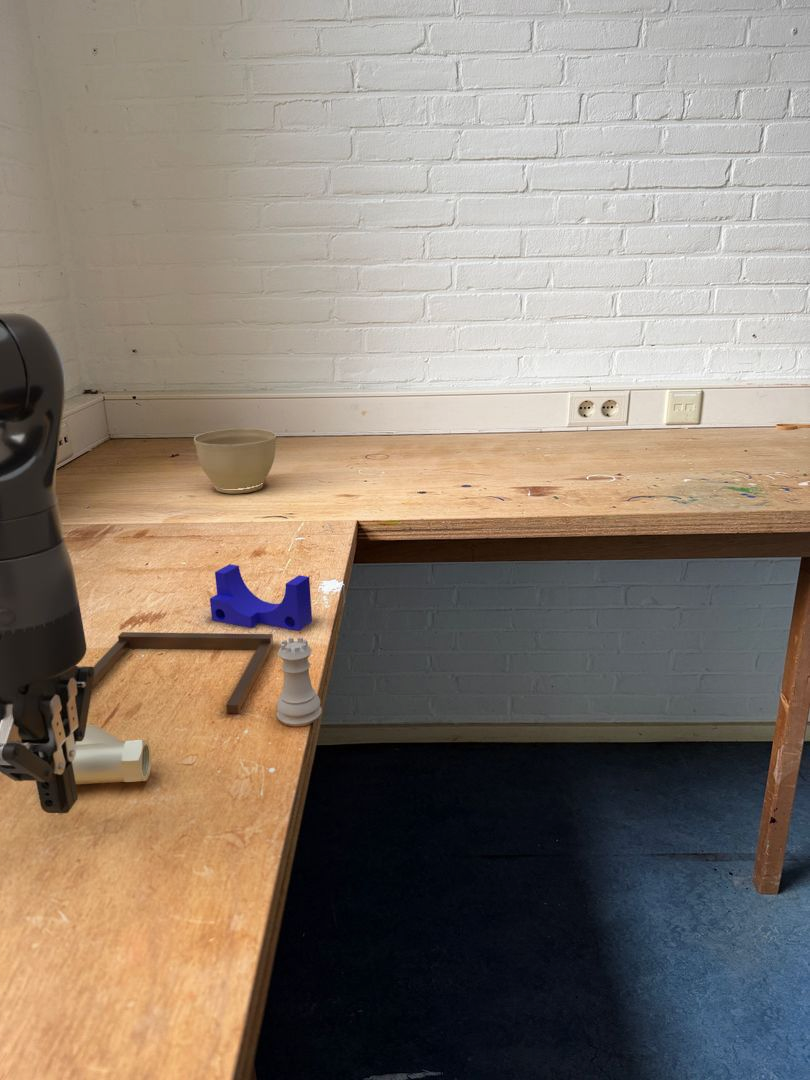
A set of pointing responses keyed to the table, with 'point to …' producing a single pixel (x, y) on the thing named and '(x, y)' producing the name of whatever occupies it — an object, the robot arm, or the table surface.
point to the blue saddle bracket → (259, 603)
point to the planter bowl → (236, 457)
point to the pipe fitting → (110, 758)
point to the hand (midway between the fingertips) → (60, 807)
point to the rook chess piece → (297, 685)
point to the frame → (195, 641)
